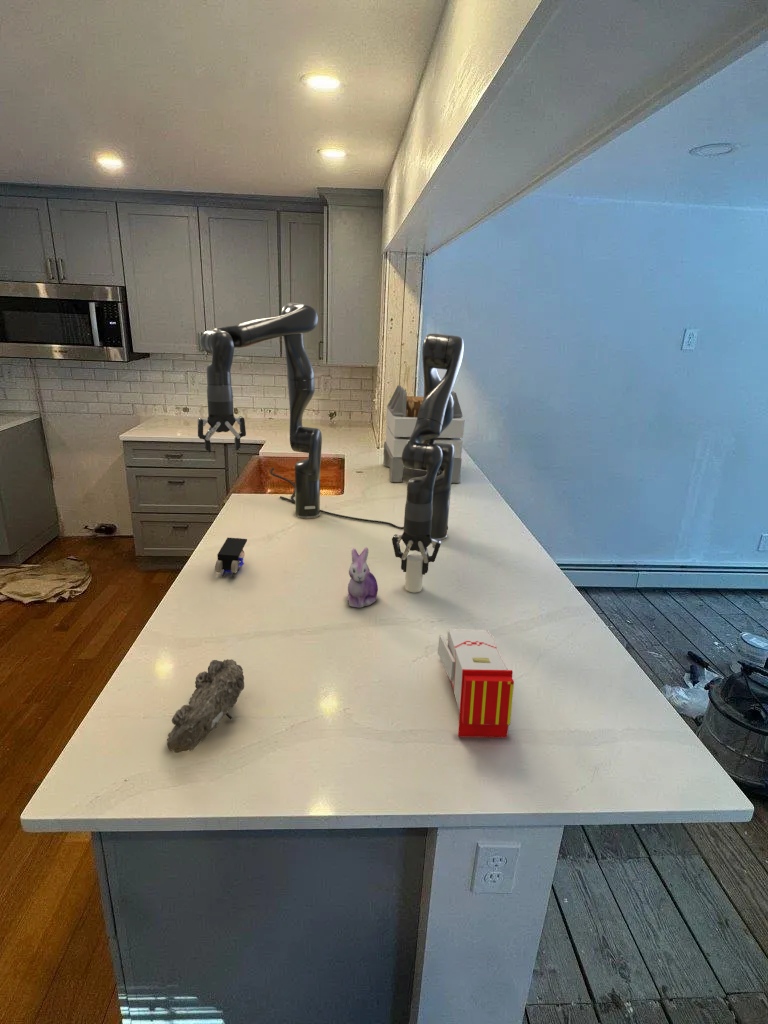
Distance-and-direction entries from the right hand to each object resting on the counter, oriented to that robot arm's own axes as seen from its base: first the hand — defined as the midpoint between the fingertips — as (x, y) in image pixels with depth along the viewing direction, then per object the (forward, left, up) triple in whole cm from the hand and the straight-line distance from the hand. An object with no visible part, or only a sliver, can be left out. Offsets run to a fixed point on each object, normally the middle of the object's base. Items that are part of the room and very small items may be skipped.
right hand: (414, 572), depth 160 cm
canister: (0, 0, -5) cm, 5 cm away
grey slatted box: (-63, +104, -5) cm, 121 cm away
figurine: (-7, -15, -5) cm, 17 cm away
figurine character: (-48, -25, -5) cm, 54 cm away
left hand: (-66, -11, +25) cm, 72 cm away
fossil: (-1, -69, -5) cm, 70 cm away
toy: (+34, -32, -5) cm, 47 cm away
